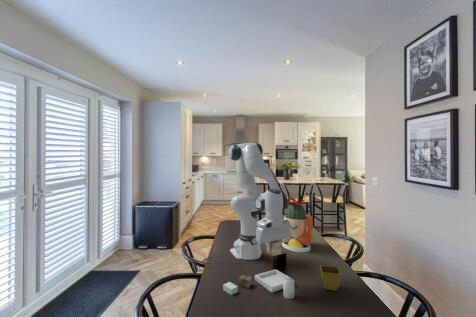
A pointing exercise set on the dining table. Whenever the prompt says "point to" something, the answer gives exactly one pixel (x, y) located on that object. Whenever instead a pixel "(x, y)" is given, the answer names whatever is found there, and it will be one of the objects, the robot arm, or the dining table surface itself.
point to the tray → (271, 280)
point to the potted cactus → (298, 226)
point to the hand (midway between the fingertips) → (274, 249)
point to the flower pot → (330, 277)
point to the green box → (230, 288)
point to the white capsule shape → (288, 288)
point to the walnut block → (245, 281)
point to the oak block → (275, 248)
